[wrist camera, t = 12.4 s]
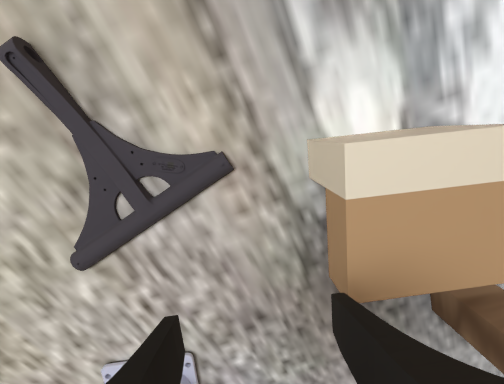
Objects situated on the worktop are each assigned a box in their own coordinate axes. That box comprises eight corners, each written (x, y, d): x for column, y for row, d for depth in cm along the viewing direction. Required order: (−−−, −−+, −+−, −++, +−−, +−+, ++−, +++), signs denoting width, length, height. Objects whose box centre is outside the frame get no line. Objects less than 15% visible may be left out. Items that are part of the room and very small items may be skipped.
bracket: (109, -14, 18) (87, -40, 15) (234, 167, 21) (234, 172, 18) (-50, 109, 19) (-97, 105, 16) (92, 263, 22) (73, 281, 19)
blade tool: (467, 299, 25) (556, 363, 18) (432, 309, 25) (507, 377, 18) (458, 167, 22) (561, 183, 15) (417, 178, 22) (502, 199, 15)
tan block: (426, 238, 23) (507, 282, 16) (313, 252, 22) (347, 304, 16) (431, 126, 21) (528, 123, 14) (307, 139, 20) (344, 143, 14)
